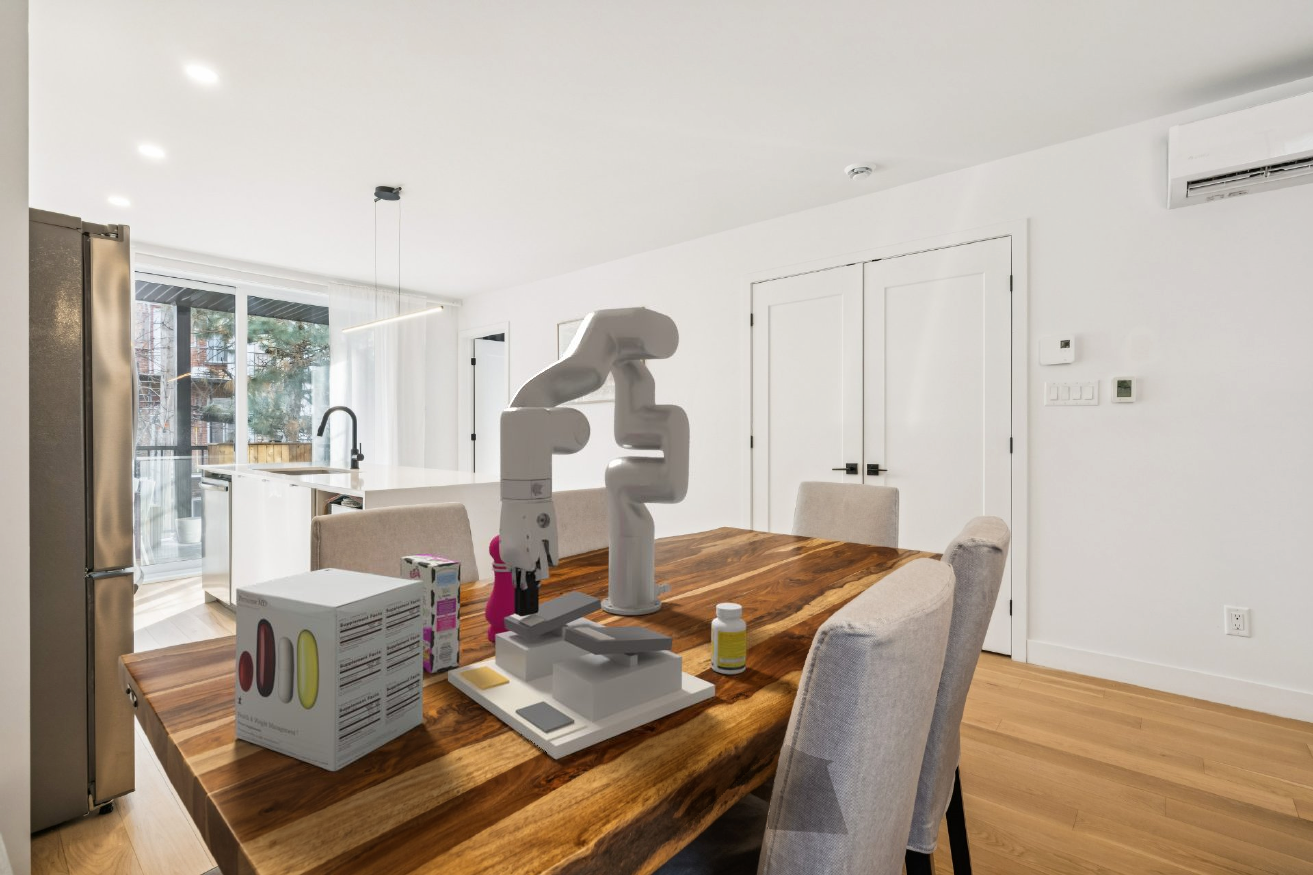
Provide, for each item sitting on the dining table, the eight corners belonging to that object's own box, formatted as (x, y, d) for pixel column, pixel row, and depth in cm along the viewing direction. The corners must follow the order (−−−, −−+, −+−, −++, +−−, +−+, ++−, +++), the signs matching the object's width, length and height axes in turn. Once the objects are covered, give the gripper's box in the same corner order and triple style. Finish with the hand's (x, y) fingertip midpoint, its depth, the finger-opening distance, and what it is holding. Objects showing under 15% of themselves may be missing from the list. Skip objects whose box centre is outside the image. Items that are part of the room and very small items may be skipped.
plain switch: (638, 637, 91) (640, 624, 91) (671, 649, 85) (673, 636, 86) (564, 640, 82) (566, 627, 82) (595, 655, 77) (597, 640, 77)
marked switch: (576, 599, 103) (574, 589, 102) (601, 608, 97) (600, 598, 97) (505, 628, 94) (503, 616, 94) (529, 639, 89) (527, 627, 89)
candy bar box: (461, 666, 97) (462, 561, 97) (431, 675, 93) (432, 566, 93) (427, 649, 105) (427, 551, 105) (397, 656, 101) (398, 555, 101)
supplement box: (229, 741, 73) (230, 587, 73) (329, 697, 85) (330, 566, 85) (333, 775, 66) (334, 605, 66) (426, 722, 78) (427, 579, 78)
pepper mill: (531, 631, 114) (532, 522, 114) (519, 644, 107) (519, 528, 107) (493, 629, 115) (494, 521, 115) (478, 642, 108) (479, 527, 108)
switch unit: (592, 642, 109) (592, 599, 109) (714, 695, 87) (715, 641, 87) (446, 681, 91) (446, 630, 91) (553, 760, 69) (553, 693, 69)
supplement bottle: (753, 670, 96) (753, 607, 96) (725, 678, 93) (726, 612, 93) (731, 659, 101) (731, 599, 101) (704, 666, 98) (704, 604, 98)
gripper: (576, 493, 89) (576, 620, 90) (523, 485, 100) (523, 598, 101) (529, 496, 84) (530, 631, 85) (479, 488, 95) (480, 607, 96)
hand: (526, 613), depth 93 cm, fingers closed
